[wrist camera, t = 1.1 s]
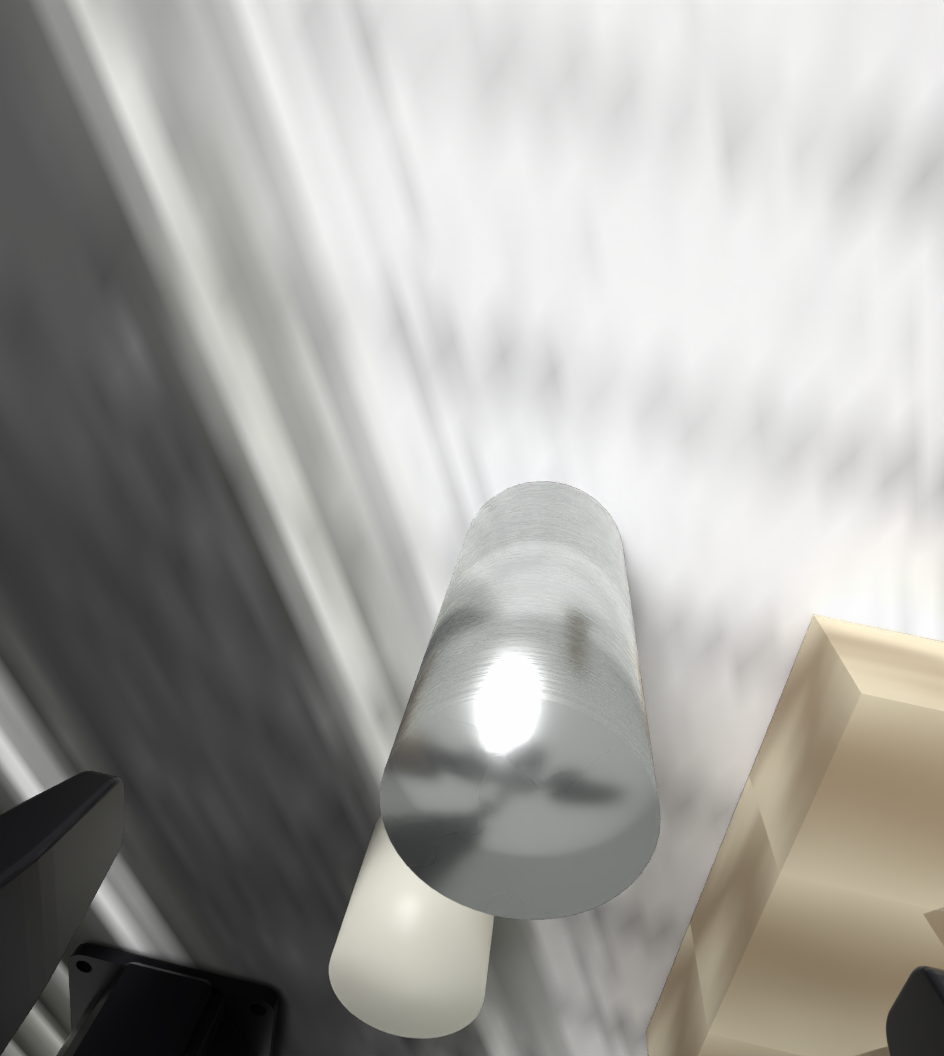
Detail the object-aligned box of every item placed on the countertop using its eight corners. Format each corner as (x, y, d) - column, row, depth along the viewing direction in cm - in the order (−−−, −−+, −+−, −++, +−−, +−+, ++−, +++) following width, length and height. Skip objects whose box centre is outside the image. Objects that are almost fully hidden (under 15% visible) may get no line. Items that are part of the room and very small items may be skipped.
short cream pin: (488, 908, 21) (469, 1053, 17) (365, 878, 21) (321, 1016, 18) (513, 811, 20) (498, 947, 16) (381, 781, 20) (336, 908, 16)
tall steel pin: (601, 640, 17) (620, 945, 10) (453, 607, 18) (364, 884, 10) (641, 499, 16) (695, 735, 9) (479, 466, 16) (399, 668, 9)
